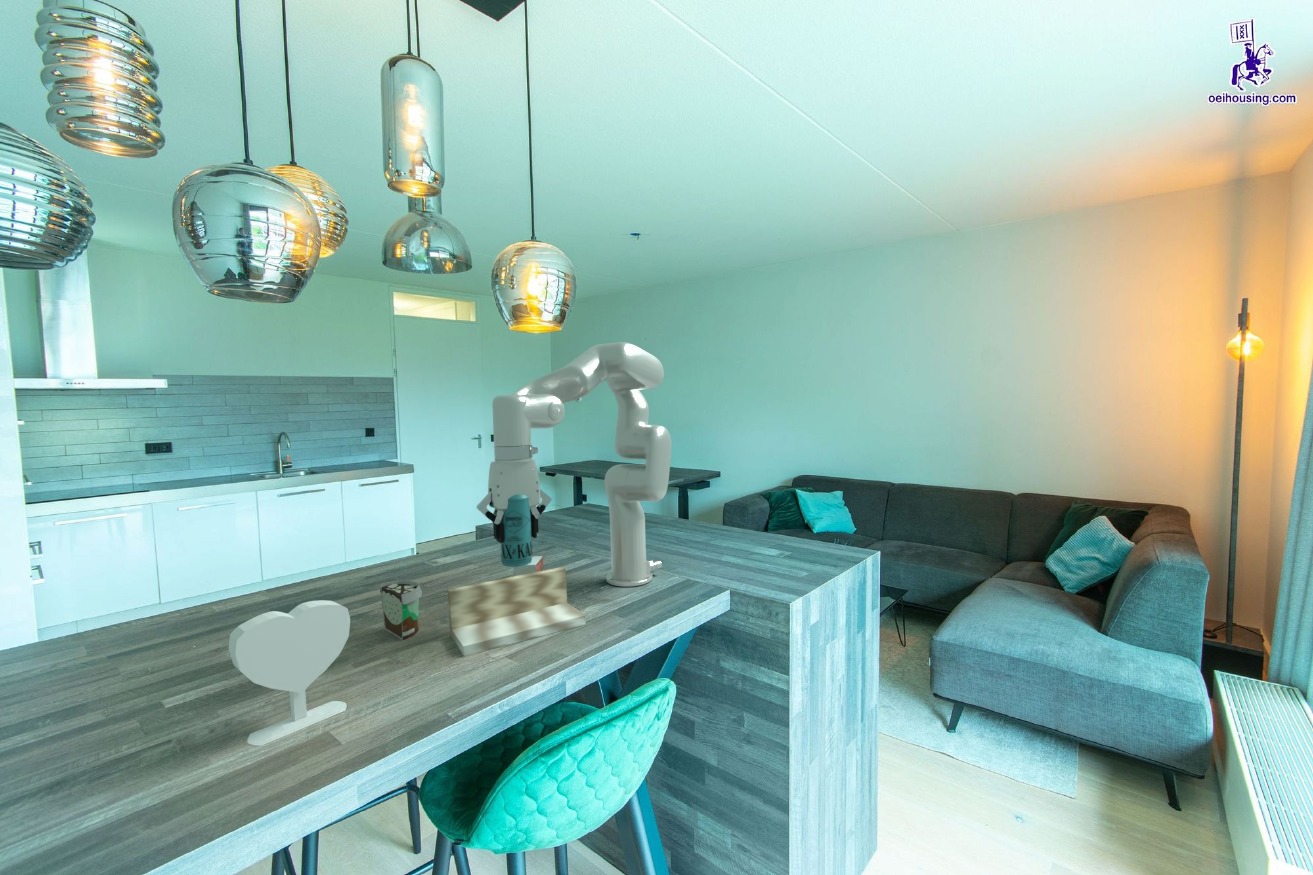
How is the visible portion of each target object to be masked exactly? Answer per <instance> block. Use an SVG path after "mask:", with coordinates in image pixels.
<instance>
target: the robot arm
mask: <svg viewBox="0 0 1313 875" xmlns="http://www.w3.org/2000/svg"><path fill="white" fill-rule="evenodd" d="M664 377H665V371H664V366H663V364H662V362H661V361H660V359H658V358H657V357H656V356H655V355H653V354H651V353H649V352H648V351H646V350H644V349H642V348H641V347H639V346H637V345H635V344H632V343H630V342H626V341H618V342H617V341H616V342H608V343H600V344H595V345H593V346H591V347H589V348H588V349H587V350H585V351H584V352H582V353H581V354H580V355H578V356H577V357H576V358H575V359H573V360H572V361H570V362H569V363H568V364H566V365H565V366H563V367H561V368H559V369H557V370H553V371H552V372H550V373H548V374H545V375H543V376H541V377H538V378H536V379H533V380H531V381H530V382H528V383H526V384H524V385H523V386H522V387H520V388H519V389H517V390H516V391H514V392H513V393H512V394H503V395H502V394H501V395H497V396H495V397H493V399H492V404H491V405H492V426H493V429H492V430H493V449H494V450H493V451H494V454H493V455H494V461H490V463H489V468H488V469H489V470H488V482H487V484H488V485H487V494H486V496H485V497H484V498H482V500H481V501H480V502H479V503H478V504H477V505H476V509H477V511H479V512H480V513H481V514H482V515H484V517H486V518H487V519H488V520H489V521H491V522H492V526H493V538H494V539H495V540H496V542H498V543H499V544H501V543H503V542H504V529H503V524H502V523H501V519H502V516H503V514H504V510H506V509H507V506H508V499H509V498H510V497H512V496H514V495H517V494H523V495H526V496H528V497H529V506H530V514H531V538H534V539H536V538H537V537H538V534H537V533H539V519H540V517H541V515H542V514H543V513H544V511H545V510H546V508H547V507H548V506H549V505H550V503H551V502H552V500H553V499H552V497H550V496H549V495H548V494H547V493H546V492H545V491H543V490H542V489H541V486H540V477H539V472H538V468H537V464H536V460H535V459H533V456H534V455H535V454H538V453H539V449H538V447H537V446H536V447H534V446H533V444H532V433H531V432H532V429H551V428H552V429H553V428H554V427H556V426H558V425H559V424H560V423H562V421H563V420H564V417H565V413H566V411H565V409H566V408H565V405H564V403H565V404H566V403H569V402H573V401H577V400H579V399H582V398H585V397H586V396H588V395H589V394H590V393H591V392H592V391H593V390H594V389H595V388H597V387H598V386H600V385H601V384H602V383H604V381H605V383H606V385H607V386H608V387H609V389H610V390H611V392H612V394H613V396H614V398H615V400H616V404H617V419H616V427H615V428H616V429H615V436H614V437H615V438H614V451H615V454H616V456H618V457H619V458H621V459H625V460H636V461H645V464H632V463H631V464H630V463H629V464H628V463H626V464H625V463H619V464H616V465H613V466H611V467H610V468H609V469H608V470H607V471H606V473H605V476H604V489H605V493H606V494H605V495H606V497H607V503H608V510H609V512H608V513H609V529H610V530H609V532H610V556H611V558H610V562H611V563H610V564H611V572H609V573H608V574H606V578H605V579H606V582H607V583H608V584H610V585H611V586H615V587H638V586H641V585H645V584H648V583H650V582H651V581H652V580H653V573H652V572H651V571H653V570H654V569H655V570H656V569H660V568H662V567H663V563H662V562H661V560H657V561H653V560H647V547H646V546H647V542H646V516H645V512H644V509H643V507H642V504H641V503H640V501H641V502H650V503H651V502H653V503H654V502H659V501H661V500H663V498H664V497H665V496H666V494H667V491H668V487H669V480H670V479H669V478H670V471H671V470H670V469H671V461H672V460H671V459H672V447H673V446H672V444H673V443H672V437H671V435H670V432H669V430H668V429H667V428H666V427H665V426H663V425H659V424H649V418H650V417H649V414H650V409H649V408H650V407H649V404H648V401H647V399H646V398H645V396H644V395H643V393H642V392H641V390H654V389H656V388H658V387H659V386H660V385H661V384H662V383H663V380H664ZM488 506H489V507H490V508H493V509H494V510H493V512H492V511H490V510H489V509H488Z"/></svg>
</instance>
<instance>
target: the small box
mask: <svg viewBox="0 0 1313 875" xmlns="http://www.w3.org/2000/svg"><path fill="white" fill-rule="evenodd" d="M544 569H545V568H544V556H543V555H540V556H539V555H536V556H533V557H532V561H531V563H530V564H527V565H524V566H518V567H513V577H514V576H519V575H524V574H529V573H534V572H539V571H544Z"/></svg>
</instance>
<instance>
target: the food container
mask: <svg viewBox="0 0 1313 875" xmlns="http://www.w3.org/2000/svg"><path fill="white" fill-rule="evenodd" d="M379 594H380V595H381V603H382V604H381V605H382V615H383V624H384V630H385V631H387V632H389V633H391V634H392V635H394V636H395V637H397V638H398V639H400V640H401V641H405V640H408V639H410V638H412V637H413V636H415V635H416V634H418V631H419V616H420V613H419V612H420V610H419V609H420V606H419V605H420V603H419V602H420V598H421V597H422V595H423V592H422V588H421V586H420V584H419V583H418V582H416V581H413V580H396V581H388V582H383V583H380V586H379Z"/></svg>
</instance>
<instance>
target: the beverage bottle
mask: <svg viewBox="0 0 1313 875" xmlns="http://www.w3.org/2000/svg"><path fill="white" fill-rule="evenodd" d="M501 523H502V524H503V529H504V542H503V543H500V548H499V549H500V556H501V558H500V560H501V563H502V564H501V565H502V566H504V567H508V568H509V567H510V568H514V567H518V566H524V565H527V564H530V563H531V561H532V557H533V539H532V537H531V514H530V506H529V497H528V496H526V495H523V494H517V495H514V496H512V497H510V498H509V499H508V506H507V509H506V510H504V514H503V516H502V519H501Z"/></svg>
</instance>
